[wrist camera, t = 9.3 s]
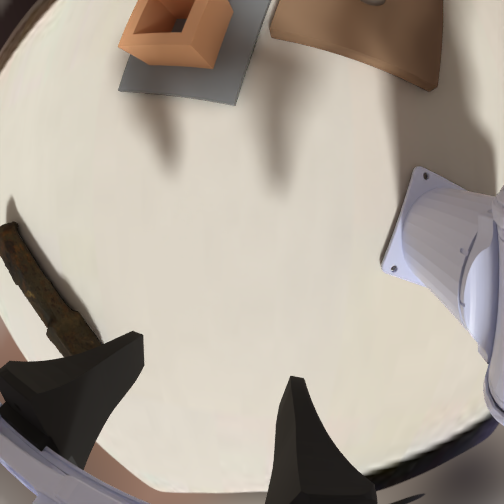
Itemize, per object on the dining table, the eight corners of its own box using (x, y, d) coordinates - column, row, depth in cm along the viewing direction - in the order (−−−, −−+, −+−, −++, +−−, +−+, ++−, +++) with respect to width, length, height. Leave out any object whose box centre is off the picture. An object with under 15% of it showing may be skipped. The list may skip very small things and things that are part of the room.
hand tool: (11, 239, 25) (-16, 249, 21) (19, 217, 24) (-11, 226, 19) (100, 361, 27) (77, 384, 23) (114, 348, 26) (90, 373, 21)
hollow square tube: (233, 11, 15) (218, -20, 11) (213, 69, 17) (190, 45, 12) (170, 11, 15) (145, -15, 11) (149, 65, 17) (117, 46, 13)
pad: (271, -2, 14) (271, -5, 14) (235, 105, 17) (233, 104, 17) (159, -5, 15) (157, -7, 15) (120, 91, 18) (117, 90, 18)
